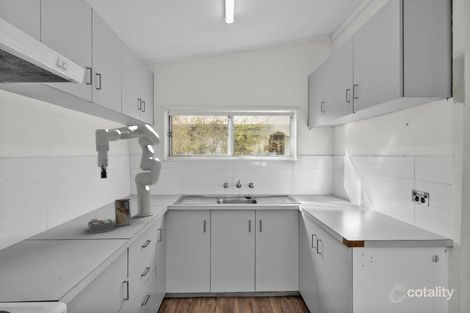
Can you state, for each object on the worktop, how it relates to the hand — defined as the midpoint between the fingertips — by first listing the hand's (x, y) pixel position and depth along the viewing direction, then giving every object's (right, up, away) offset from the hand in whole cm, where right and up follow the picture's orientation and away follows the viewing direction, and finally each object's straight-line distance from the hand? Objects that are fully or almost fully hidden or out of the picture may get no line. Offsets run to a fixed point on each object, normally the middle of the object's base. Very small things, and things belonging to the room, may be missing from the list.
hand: (103, 178), depth 196 cm
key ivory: (+2, -29, -1) cm, 29 cm away
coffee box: (+10, -31, +7) cm, 33 cm away
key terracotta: (-1, -30, -10) cm, 31 cm away
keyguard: (+1, -31, -6) cm, 32 cm away
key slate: (-4, -28, -5) cm, 29 cm away
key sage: (+5, -29, -7) cm, 30 cm away
